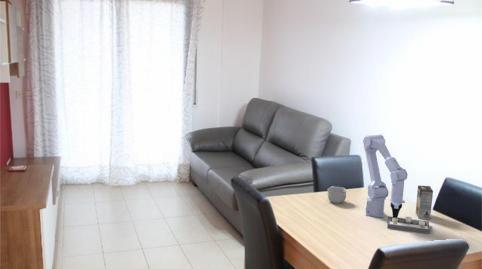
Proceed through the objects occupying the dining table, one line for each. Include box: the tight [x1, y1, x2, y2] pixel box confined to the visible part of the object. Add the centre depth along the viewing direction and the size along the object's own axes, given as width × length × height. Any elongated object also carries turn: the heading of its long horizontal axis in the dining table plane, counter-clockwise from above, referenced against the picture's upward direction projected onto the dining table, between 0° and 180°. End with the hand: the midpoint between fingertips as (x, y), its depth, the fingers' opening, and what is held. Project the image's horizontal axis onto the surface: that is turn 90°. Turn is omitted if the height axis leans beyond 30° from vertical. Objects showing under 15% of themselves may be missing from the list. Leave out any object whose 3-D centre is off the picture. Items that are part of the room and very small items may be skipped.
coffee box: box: [415, 185, 434, 220], centre depth 236 cm, size 9×6×16 cm
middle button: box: [405, 216, 413, 223], centre depth 222 cm, size 3×3×2 cm
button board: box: [387, 216, 431, 235], centre depth 222 cm, size 20×12×2 cm, turn 70°
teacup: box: [327, 185, 347, 205], centre depth 259 cm, size 14×11×8 cm
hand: (395, 217), depth 225 cm, fingers closed
